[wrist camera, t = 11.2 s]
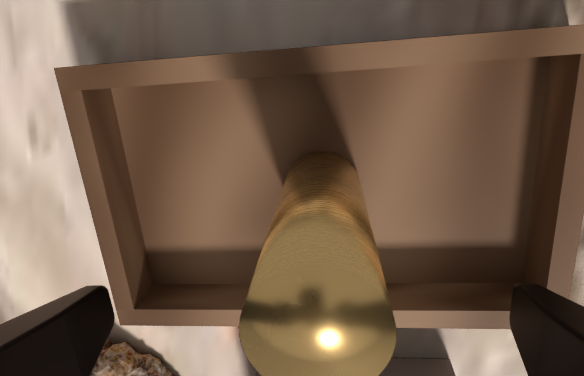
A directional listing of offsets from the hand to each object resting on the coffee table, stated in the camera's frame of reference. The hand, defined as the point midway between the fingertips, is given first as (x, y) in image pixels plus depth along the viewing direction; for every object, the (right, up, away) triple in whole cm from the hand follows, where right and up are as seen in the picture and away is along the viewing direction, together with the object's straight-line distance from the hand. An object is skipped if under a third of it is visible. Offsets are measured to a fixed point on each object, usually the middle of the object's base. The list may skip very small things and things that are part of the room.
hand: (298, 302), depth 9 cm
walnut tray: (+1, +3, +8) cm, 8 cm away
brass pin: (+1, +3, +7) cm, 8 cm away
